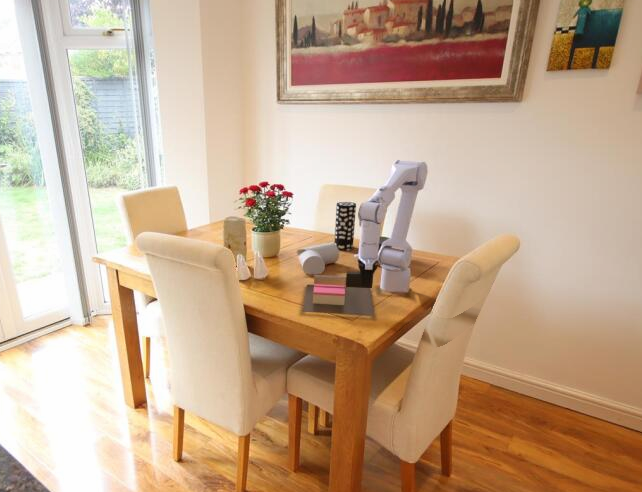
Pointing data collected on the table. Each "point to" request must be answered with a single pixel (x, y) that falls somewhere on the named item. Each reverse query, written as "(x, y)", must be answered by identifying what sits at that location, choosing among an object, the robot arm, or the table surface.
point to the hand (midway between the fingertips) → (365, 283)
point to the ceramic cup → (380, 246)
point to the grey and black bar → (342, 280)
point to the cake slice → (329, 296)
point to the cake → (329, 286)
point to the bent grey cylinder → (317, 257)
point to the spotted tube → (345, 225)
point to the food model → (235, 236)
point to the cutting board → (354, 304)
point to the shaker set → (259, 267)
